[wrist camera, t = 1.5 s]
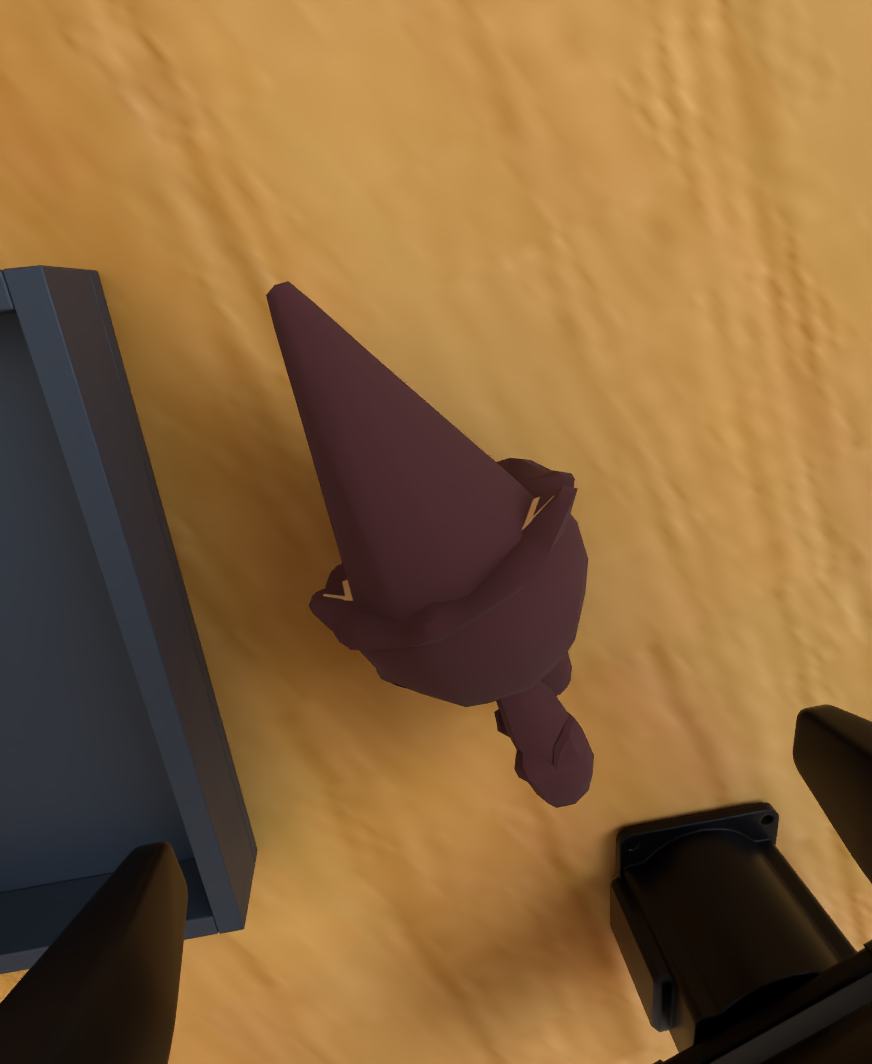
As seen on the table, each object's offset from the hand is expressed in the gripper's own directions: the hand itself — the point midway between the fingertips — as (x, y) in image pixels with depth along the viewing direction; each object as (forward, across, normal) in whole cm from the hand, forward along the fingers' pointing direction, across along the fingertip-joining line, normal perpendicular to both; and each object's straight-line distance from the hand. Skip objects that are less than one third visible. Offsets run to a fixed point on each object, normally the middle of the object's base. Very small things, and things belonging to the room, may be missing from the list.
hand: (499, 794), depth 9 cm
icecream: (+11, -1, 0) cm, 11 cm away
